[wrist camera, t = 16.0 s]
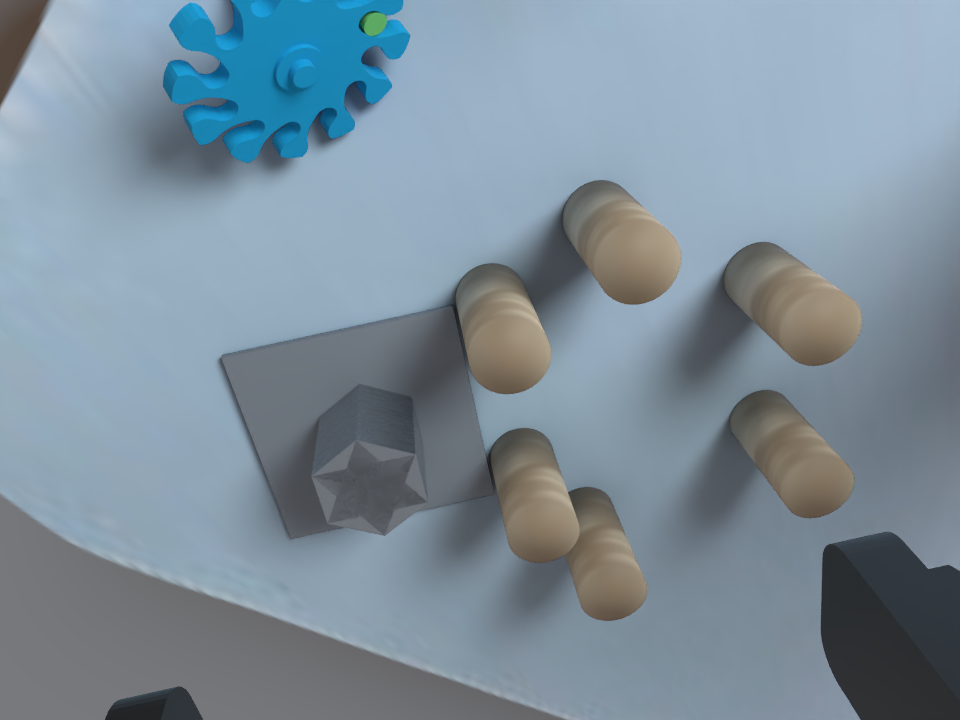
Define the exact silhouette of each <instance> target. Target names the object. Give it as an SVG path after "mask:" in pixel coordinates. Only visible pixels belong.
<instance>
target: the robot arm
mask: <svg viewBox="0 0 960 720" xmlns="http://www.w3.org/2000/svg"><path fill="white" fill-rule="evenodd" d="M821 637H822V643H823V647H824V651H825V655H826V658H827V661H828V663H829V666H830V668H831V670H832V673H833V675H834V677H835V679H836V681H837V682H838V684H839V686H840V687H841V689H842V691H843V692H844V694H845V695H846V697H847V698H848V700H849V702H850V703H851V705H852V706H853V708H854V710H855V711H856V713H857V714H858V716H859V717H860V719H861V720H960V571H959V570H957V569H955V568H953V567H952V566H950V565H946V566H941V567H937V568H932V569H927V567H926V566H925V565H924V564H923V563H922V562H921V561H920V560H919V559H918V557H917V556H916V555H915V554H914V553H913V552H912V551H911V550H910V549H909V547H908V546H907V545H906V544H905V543H904V542H903V541H902V540H901V539H900V538H899V537H898V536H896V535H895V534H893V533H891V532H883V533H878V534H874V535H869V536H865V537H860V538H856V539H851V540H847V541H842V542H838V543H833V544H829V545H827V546H826V547H825V549H824V552H823V563H822V603H821ZM105 720H203V718H202V717H201V715H200V713H199V711H198V709H197V707H196V705H195V704H194V701H193V700H192V698H191V696H190V694H189V693H188V692H187V690H186V689H184V688H182V687H175V688H170V689H166V690H162V691H157V692H152V693H148V694H143V695H139V696H134V697H130V698H125V699H121V700H118V701H116V702H115V703H114V704H113V705H112V707H111V708H110V710H109V711H108V714H107V716H106V719H105Z"/></svg>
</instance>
